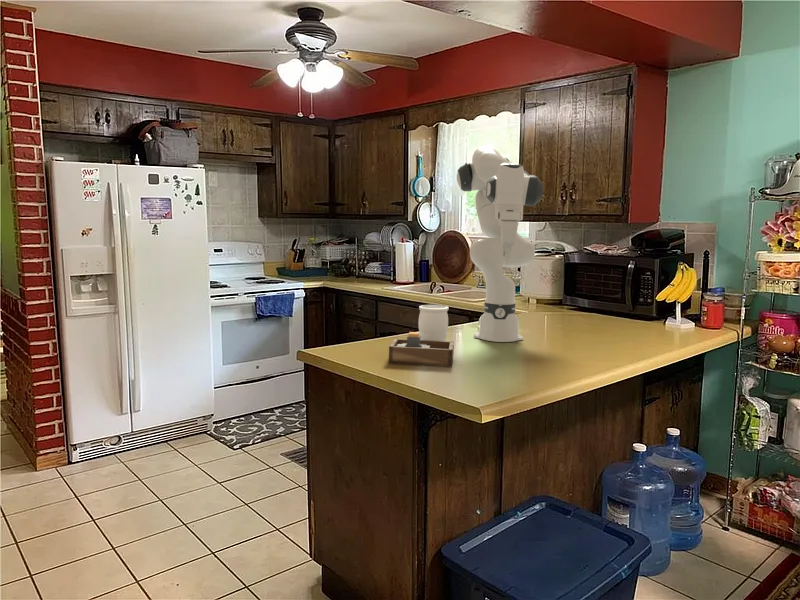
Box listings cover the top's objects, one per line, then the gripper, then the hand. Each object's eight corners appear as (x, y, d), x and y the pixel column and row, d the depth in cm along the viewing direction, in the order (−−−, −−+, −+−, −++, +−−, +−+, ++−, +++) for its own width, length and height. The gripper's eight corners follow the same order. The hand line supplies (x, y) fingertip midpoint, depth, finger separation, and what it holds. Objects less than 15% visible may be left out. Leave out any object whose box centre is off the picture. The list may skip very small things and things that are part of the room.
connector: (407, 355, 200) (408, 331, 199) (420, 356, 200) (420, 332, 199) (406, 358, 197) (407, 333, 195) (418, 358, 196) (419, 334, 195)
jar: (449, 346, 221) (451, 305, 219) (444, 352, 211) (445, 309, 209) (421, 343, 224) (422, 303, 222) (414, 349, 214) (415, 307, 212)
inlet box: (394, 354, 206) (394, 338, 205) (453, 357, 203) (453, 341, 202) (388, 363, 193) (389, 346, 192) (451, 367, 190) (452, 350, 190)
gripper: (497, 214, 205) (495, 255, 206) (500, 214, 184) (497, 259, 186) (516, 214, 204) (514, 256, 206) (521, 214, 184) (518, 260, 186)
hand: (506, 257), depth 196 cm, fingers open, 8 cm apart
